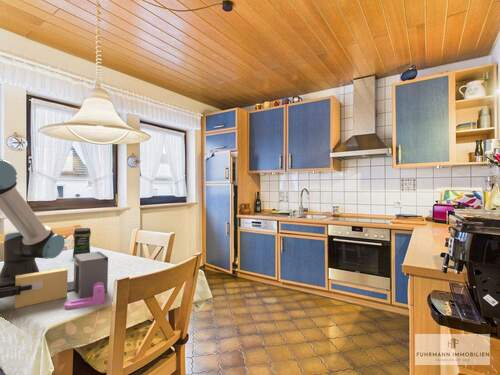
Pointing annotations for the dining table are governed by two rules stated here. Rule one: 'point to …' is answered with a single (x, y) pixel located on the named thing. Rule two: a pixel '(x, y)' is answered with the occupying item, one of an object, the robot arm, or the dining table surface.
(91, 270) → the dispenser
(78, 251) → the coffee jar
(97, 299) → the bracket
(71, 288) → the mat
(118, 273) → the dining table surface
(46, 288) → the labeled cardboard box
